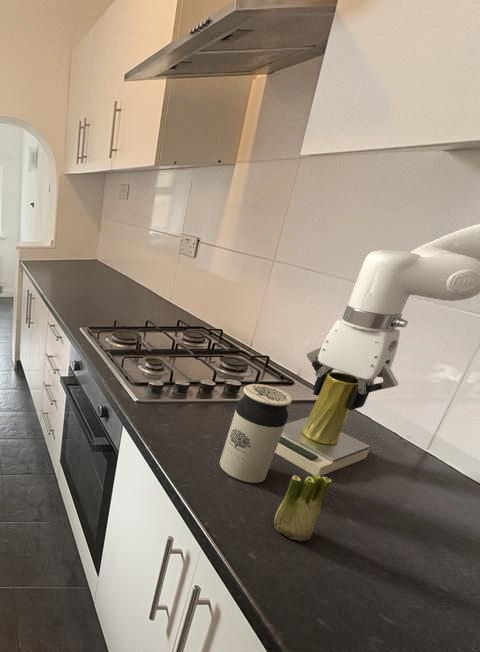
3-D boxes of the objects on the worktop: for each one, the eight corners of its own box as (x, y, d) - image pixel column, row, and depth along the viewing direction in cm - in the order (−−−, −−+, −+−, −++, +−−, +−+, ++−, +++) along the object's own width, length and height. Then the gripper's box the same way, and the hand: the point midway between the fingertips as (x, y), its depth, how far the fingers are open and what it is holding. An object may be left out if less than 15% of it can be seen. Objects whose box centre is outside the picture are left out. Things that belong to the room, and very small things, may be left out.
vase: (300, 425, 93) (322, 368, 87) (335, 433, 90) (360, 375, 84) (303, 439, 88) (327, 380, 82) (340, 448, 85) (368, 388, 79)
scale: (305, 428, 98) (309, 416, 96) (365, 458, 87) (371, 446, 86) (258, 443, 92) (262, 431, 91) (317, 477, 82) (322, 464, 81)
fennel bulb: (269, 535, 69) (292, 478, 64) (268, 515, 73) (289, 461, 68) (313, 550, 66) (340, 492, 62) (309, 529, 70) (334, 473, 65)
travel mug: (246, 457, 88) (272, 382, 80) (274, 483, 81) (305, 403, 73) (210, 458, 87) (233, 383, 80) (235, 485, 80) (262, 405, 73)
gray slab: (307, 419, 96) (308, 416, 96) (368, 449, 86) (370, 446, 86) (272, 430, 92) (273, 427, 92) (332, 463, 82) (334, 459, 82)
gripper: (441, 330, 72) (398, 418, 79) (331, 303, 87) (303, 379, 94) (417, 336, 69) (374, 426, 77) (308, 307, 84) (281, 385, 91)
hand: (335, 400), depth 85 cm, fingers open, 5 cm apart
